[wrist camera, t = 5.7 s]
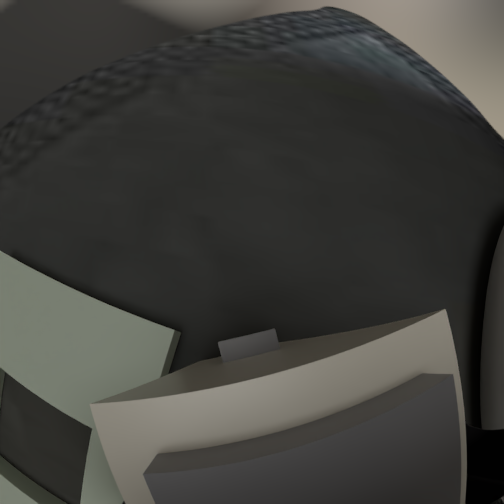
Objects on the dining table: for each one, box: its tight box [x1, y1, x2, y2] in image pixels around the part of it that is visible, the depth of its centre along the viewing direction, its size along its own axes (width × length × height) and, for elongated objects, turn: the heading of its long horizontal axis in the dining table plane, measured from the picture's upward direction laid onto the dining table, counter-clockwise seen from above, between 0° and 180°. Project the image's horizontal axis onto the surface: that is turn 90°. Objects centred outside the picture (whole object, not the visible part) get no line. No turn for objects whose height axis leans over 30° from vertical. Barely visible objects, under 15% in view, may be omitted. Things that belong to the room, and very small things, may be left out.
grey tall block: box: [90, 309, 467, 504], centre depth 8 cm, size 5×4×14 cm
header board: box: [0, 251, 181, 504], centre depth 10 cm, size 22×14×3 cm, turn 164°
